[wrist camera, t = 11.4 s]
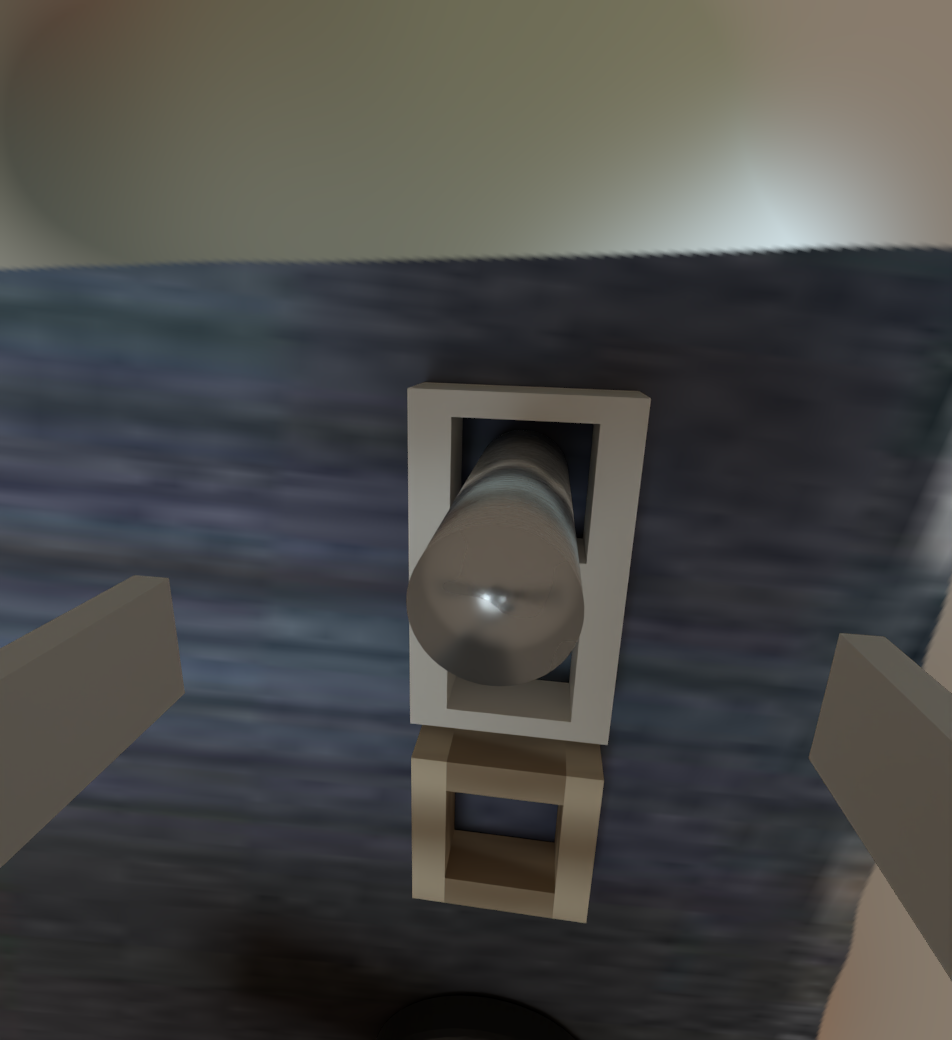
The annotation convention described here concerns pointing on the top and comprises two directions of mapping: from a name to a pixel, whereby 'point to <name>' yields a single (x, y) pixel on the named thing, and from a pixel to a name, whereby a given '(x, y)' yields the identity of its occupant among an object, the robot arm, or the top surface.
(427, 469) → the rack
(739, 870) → the top surface
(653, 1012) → the top surface
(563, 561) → the grey peg
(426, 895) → the socket block
